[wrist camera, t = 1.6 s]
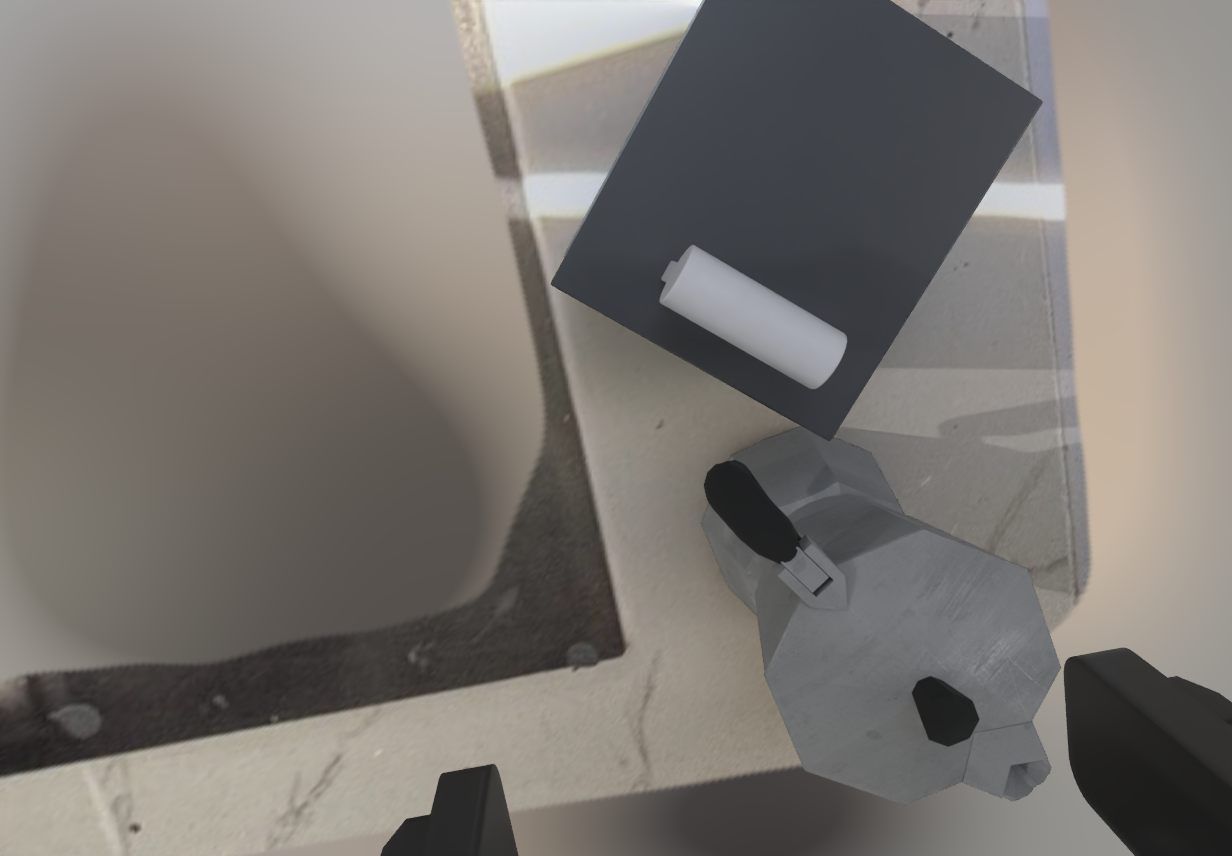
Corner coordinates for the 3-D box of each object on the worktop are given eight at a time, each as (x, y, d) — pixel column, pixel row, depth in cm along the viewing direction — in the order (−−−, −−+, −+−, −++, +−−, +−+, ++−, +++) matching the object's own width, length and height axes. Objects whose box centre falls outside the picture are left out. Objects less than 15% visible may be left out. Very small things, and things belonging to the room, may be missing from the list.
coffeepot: (959, 541, 43) (1224, 757, 25) (817, 670, 44) (977, 962, 27) (741, 319, 40) (870, 391, 23) (596, 464, 41) (612, 640, 24)
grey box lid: (823, 437, 30) (878, 483, 25) (550, 283, 29) (545, 296, 23) (1031, 104, 28) (1141, 75, 23) (749, -82, 27) (794, -161, 21)
